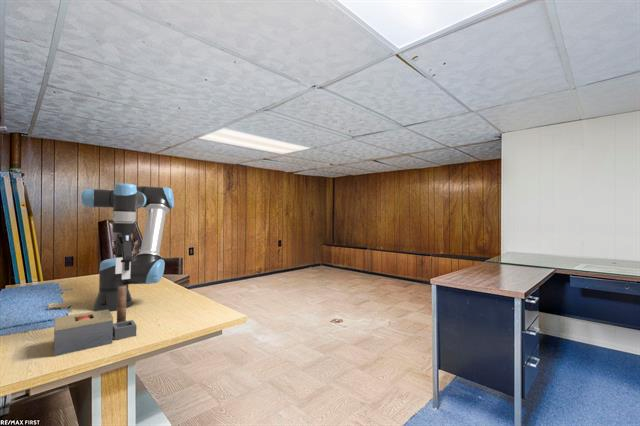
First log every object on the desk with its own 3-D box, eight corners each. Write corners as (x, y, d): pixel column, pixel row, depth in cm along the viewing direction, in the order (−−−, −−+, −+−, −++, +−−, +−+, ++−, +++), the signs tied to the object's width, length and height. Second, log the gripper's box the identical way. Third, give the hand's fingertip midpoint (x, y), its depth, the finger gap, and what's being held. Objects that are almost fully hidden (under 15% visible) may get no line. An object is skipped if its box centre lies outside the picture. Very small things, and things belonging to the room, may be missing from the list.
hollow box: (53, 344, 102) (54, 317, 102) (107, 333, 112) (108, 309, 112) (54, 356, 93) (55, 327, 94) (112, 343, 104) (113, 317, 104)
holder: (111, 334, 111) (112, 323, 111) (132, 330, 115) (132, 319, 115) (114, 340, 106) (115, 329, 106) (136, 335, 110) (136, 324, 110)
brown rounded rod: (115, 326, 118) (117, 286, 119) (124, 324, 121) (126, 285, 121) (117, 328, 116) (118, 287, 116) (126, 326, 118) (127, 286, 118)
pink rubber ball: (77, 327, 103) (77, 318, 103) (89, 325, 105) (89, 316, 105) (78, 330, 100) (78, 321, 100) (90, 328, 103) (90, 319, 103)
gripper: (107, 221, 125) (106, 272, 125) (118, 223, 107) (116, 282, 107) (128, 221, 130) (127, 270, 130) (142, 223, 112) (140, 280, 112)
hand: (122, 276), depth 118 cm, fingers open, 13 cm apart
